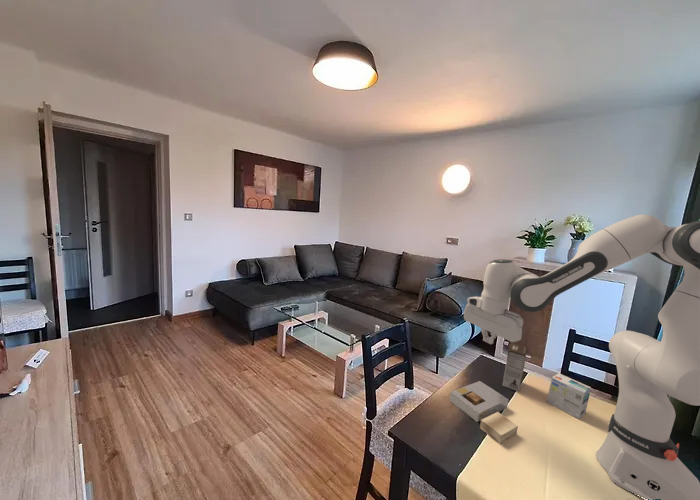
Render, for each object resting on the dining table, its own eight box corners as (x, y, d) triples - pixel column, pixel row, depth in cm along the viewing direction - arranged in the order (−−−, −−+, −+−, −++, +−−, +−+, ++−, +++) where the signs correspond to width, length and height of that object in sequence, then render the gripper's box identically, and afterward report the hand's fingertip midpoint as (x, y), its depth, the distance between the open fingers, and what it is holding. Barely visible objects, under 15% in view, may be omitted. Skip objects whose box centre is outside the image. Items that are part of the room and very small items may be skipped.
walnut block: (482, 398, 104) (475, 401, 102) (481, 408, 105) (473, 411, 103) (473, 391, 108) (466, 394, 106) (471, 401, 108) (464, 404, 106)
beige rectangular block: (516, 434, 94) (518, 426, 93) (499, 443, 89) (501, 435, 89) (496, 419, 100) (497, 411, 99) (479, 427, 95) (481, 419, 95)
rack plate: (507, 408, 106) (508, 399, 106) (477, 422, 98) (479, 412, 97) (478, 388, 116) (479, 380, 116) (449, 400, 108) (450, 391, 107)
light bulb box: (585, 413, 107) (592, 387, 105) (579, 420, 103) (585, 392, 101) (553, 396, 115) (558, 371, 114) (545, 402, 112) (551, 376, 110)
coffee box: (504, 375, 128) (510, 341, 125) (520, 381, 124) (527, 346, 122) (501, 385, 120) (508, 349, 117) (519, 392, 116) (526, 355, 114)
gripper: (529, 314, 93) (522, 354, 96) (474, 295, 111) (469, 329, 113) (518, 317, 90) (511, 358, 92) (463, 296, 108) (458, 331, 110)
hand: (487, 342), depth 103 cm, fingers closed
